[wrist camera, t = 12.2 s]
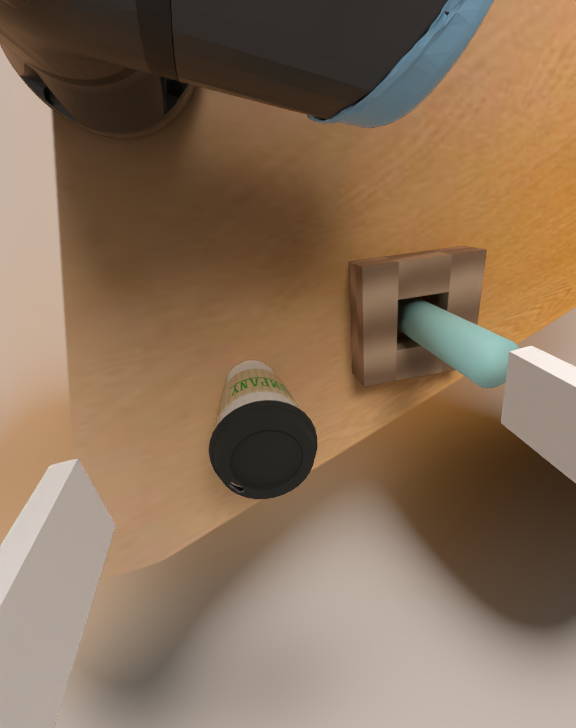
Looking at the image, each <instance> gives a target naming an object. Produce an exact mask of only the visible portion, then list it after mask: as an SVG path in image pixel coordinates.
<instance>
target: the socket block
mask: <svg viewBox="0 0 576 728" xmlns="http://www.w3.org/2000/svg"><path fill="white" fill-rule="evenodd" d="M486 251H487V250H484V249H478V248H473V247H467V246H460V247H453V248H445V249H438V250H431V251H424V252H416V253H409V254H402V255H394V256H387V257H380V258H373V259H365V260H358V261H351V262H349V267H350V302H351V337H352V372H353V374H354V375H355V376H356V377H357V379H358V380H359V381H360V382H361V384H362V385H363V386H364V387H365V386H371V385H376V384H382V383H387V382H393V381H398V380H404V379H409V378H414V377H420V376H425V375H431V374H436V373H442V372H447V371H453V370H456V369H454V368H453V367H451V366H450V365H448V364H447V363H445V362H444V361H443V360H441V359H440V358H438V357H437V356H435V355H434V354H432V353H431V352H430V351H428V350H427V349H425V348H424V347H422V346H421V345H419V344H418V343H416V342H415V341H414V340H412V339H411V338H409V337H408V336H406V335H402V336H397V316H398V300H399V299H406V298H412V297H419V296H425V295H429V303H431V304H433V305H435V306H437V307H439V308H441V309H443V310H446V311H448V312H450V313H452V314H454V315H456V316H459V317H461V318H463V319H465V320H467V321H469V322H472V323H474V324H476V325H477V322H478V314H479V306H480V298H481V290H482V282H483V275H484V267H485V259H486Z"/></svg>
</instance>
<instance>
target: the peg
mask: <svg viewBox="0 0 576 728" xmlns="http://www.w3.org/2000/svg"><path fill="white" fill-rule="evenodd" d="M397 329H398V330H399V331H401V332H402V333H403V334H405V335H406V336H408V337H409V338H411V339H412V340H414V341H415V342H416V343H418V344H419V345H421V346H422V347H424V348H425V349H427V350H428V351H430V352H431V353H432V354H434V355H435V356H437V357H438V358H440V359H441V360H443V361H444V362H445V363H447V364H448V365H450V366H451V367H453V368H454V369H456V370H457V371H458V372H460V373H461V374H463V375H464V376H466V377H467V378H469V379H470V380H471V381H473V382H474V383H476V384H477V385H479V386H481V387H484V388H493V387H497V386H499V385H501V384H503V383H505V382H506V375H507V366H508V358H509V351H513V350H517V349H519V348H518V346H517V345H516V344H515V343H514V342H512V341H510V340H508V339H506V338H504V337H502V336H500V335H497V334H495V333H493V332H491V331H489V330H487V329H484V328H482V327H480V326H478V325H476V324H474V323H472V322H469V321H467V320H465V319H463V318H461V317H459V316H456V315H454V314H452V313H450V312H448V311H446V310H443V309H441V308H439V307H437V306H435V305H433V304H431V303H428V302H426V301H424V300H422V299H420V298H418V297H412V298H406V299H399V300H398V316H397Z"/></svg>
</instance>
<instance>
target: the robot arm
mask: <svg viewBox="0 0 576 728" xmlns="http://www.w3.org/2000/svg"><path fill="white" fill-rule="evenodd" d="M493 1H494V0H0V45H1V48H2V50H3V51H4V53H5V55H6V57H7V58H8V60H9V61H10V63H11V65H12V66H13V68H14V69H15V70H16V72H17V73H18V74H19V76H20V77H21V78H22V80H23V81H24V82H25V83H26V84H27V86H28V87H29V88H30V89H31V90H32V91H33V92H34V93H35V94H36V95H37V96H38V97H39V98H40V99H41V100H42V101H43V102H44V103H45V104H47V105H48V106H49V107H50V108H52V109H53V110H54V111H56V112H57V113H58V114H60V115H61V116H63V117H65V118H66V119H68V120H70V121H71V122H73V123H75V124H76V125H78V126H80V127H82V128H84V129H86V130H89V131H91V132H94V133H96V134H100V135H103V136H108V137H113V138H137V137H142V136H146V135H149V134H152V133H154V132H156V131H158V130H160V129H162V128H164V127H165V126H167V125H168V124H169V123H171V122H172V121H173V120H174V119H175V118H176V117H177V116H178V115H179V114H180V113H181V111H182V110H183V109H184V107H185V106H186V104H187V103H188V101H189V99H190V97H191V95H192V93H193V91H194V88H195V86H199V87H202V88H206V89H210V90H214V91H218V92H222V93H226V94H230V95H233V96H237V97H241V98H245V99H249V100H253V101H257V102H261V103H264V104H268V105H272V106H276V107H280V108H284V109H288V110H292V111H295V112H299V113H303V114H307V116H308V118H310V119H311V120H313V121H315V122H319V123H335V122H339V123H344V124H349V125H353V126H358V127H363V128H374V127H379V126H384V125H387V124H390V123H393V122H395V121H397V120H399V119H400V118H402V117H403V116H405V115H407V114H408V113H409V112H411V111H412V110H413V109H414V108H415V107H417V106H418V105H419V104H420V103H421V102H422V101H423V100H424V99H425V98H426V97H427V96H428V95H429V94H430V93H431V92H432V91H433V90H434V89H435V88H436V87H437V85H438V84H439V83H440V82H441V81H442V80H443V78H444V77H445V76H446V75H447V73H448V72H449V71H450V69H451V68H452V67H453V65H454V64H455V63H456V61H457V60H458V59H459V57H460V56H461V54H462V53H463V52H464V50H465V49H466V47H467V45H468V44H469V42H470V41H471V39H472V38H473V36H474V34H475V33H476V31H477V30H478V28H479V26H480V25H481V23H482V21H483V19H484V18H485V16H486V14H487V12H488V10H489V8H490V7H491V5H492V3H493ZM501 423H502V424H503V425H504V426H505V427H507V428H508V429H509V430H510V431H512V432H513V433H514V434H515V435H516V436H518V437H519V438H520V439H521V440H523V441H524V442H525V443H526V444H528V445H529V446H530V447H531V448H533V449H534V450H535V451H536V452H538V453H539V454H540V455H541V456H543V457H544V458H545V459H546V460H548V461H549V462H550V463H551V464H552V465H554V466H555V467H556V468H557V469H559V470H560V471H561V472H562V473H564V474H565V475H566V476H567V477H569V478H570V479H571V480H572V481H574V482H575V483H576V367H575V366H573V365H571V364H569V363H567V362H564V361H562V360H560V359H558V358H556V357H554V356H552V355H550V354H548V353H546V352H544V351H542V350H539V349H538V348H535V347H533V346H529V347H525V348H521V349H517V350H513V351H509V358H508V366H507V375H506V383H505V392H504V400H503V409H502V417H501ZM115 526H116V524H115V523H114V521H113V519H112V517H111V515H110V514H109V512H108V510H107V508H106V507H105V505H104V503H103V501H102V500H101V498H100V496H99V494H98V493H97V491H96V489H95V487H94V486H93V484H92V482H91V480H90V478H89V477H88V475H87V473H86V471H85V470H84V468H83V466H82V464H81V463H80V461H79V459H78V458H77V459H73V460H69V461H66V462H61V463H57V464H53V465H50V466H49V468H48V469H47V471H46V472H45V474H44V476H43V477H42V479H41V481H40V482H39V484H38V486H37V487H36V489H35V490H34V492H33V494H32V495H31V497H30V498H29V501H28V502H27V503H26V505H25V507H24V508H23V510H22V511H21V513H20V515H19V516H18V518H17V520H16V521H15V523H14V525H13V526H12V528H11V529H10V531H9V533H8V534H7V536H6V538H5V539H4V541H3V543H2V544H1V546H0V728H54V727H55V724H56V720H57V717H58V713H59V710H60V707H61V704H62V701H63V697H64V694H65V691H66V688H67V684H68V681H69V677H70V674H71V671H72V668H73V665H74V661H75V658H76V655H77V651H78V648H79V645H80V641H81V638H82V635H83V631H84V628H85V625H86V622H87V618H88V615H89V612H90V608H91V605H92V602H93V599H94V595H95V592H96V589H97V585H98V582H99V579H100V576H101V573H102V569H103V566H104V563H105V559H106V556H107V553H108V549H109V546H110V543H111V540H112V536H113V533H114V530H115Z"/></svg>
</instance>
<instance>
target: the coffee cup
mask: <svg viewBox="0 0 576 728" xmlns="http://www.w3.org/2000/svg"><path fill="white" fill-rule="evenodd" d="M316 451H317V435H316V431H315V427H314V425H313V423H312V421H311V419H310V418H309V417H308V416H307V415H306V414H305V413H304V412H303V411H302V410H300V408H299V406H298V405H297V403H296V402H295V400H294V399H293V398H292V396H291V395H290V393H289V392H288V390H287V389H286V387H285V386H284V384H283V383H282V381H281V380H280V379H279V378H278V377H277V376H276V374H275V373H274V371H273V370H272V369H271V368H270V367H269V366H268V365H267V364H265V363H263V362H261V361H256V360H249V361H244V362H241V363H239V364H237V365H236V366H235V367H234V368H233V369H232V370H231V371H230V373H229V374H228V377H227V380H226V385H225V387H224V390H223V393H222V398H221V403H220V407H219V412H218V417H217V421H216V428H215V430H214V431H213V433H212V436H211V439H210V444H209V455H210V461H211V464H212V466H213V468H214V471H215V472H216V474H217V475H218V476H219V478H220V479H221V480H222V481H223V483H224V484H225V485H226V486H227V487H228V488H229V489H230V490H231V491H233V492H235V493H236V494H238V495H241V496H244V497H247V498H253V499H268V498H273V497H277V496H280V495H283V494H285V493H287V492H289V491H291V490H293V489H294V488H295V487H297V486H299V484H301V483H302V482H303V481H304V480H305V478H306V477H307V475H308V474H309V473H310V471H311V469H312V466H313V463H314V458H315V455H316ZM230 482H233V483H235V484H236V485H239V486H241V487H239V486H236V485H233V484H232V483H230ZM242 487H243V488H242Z"/></svg>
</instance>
